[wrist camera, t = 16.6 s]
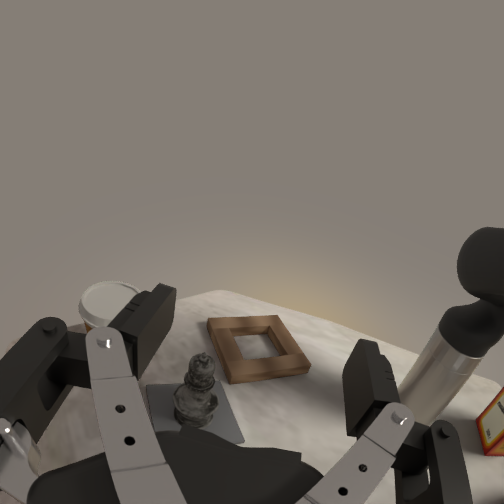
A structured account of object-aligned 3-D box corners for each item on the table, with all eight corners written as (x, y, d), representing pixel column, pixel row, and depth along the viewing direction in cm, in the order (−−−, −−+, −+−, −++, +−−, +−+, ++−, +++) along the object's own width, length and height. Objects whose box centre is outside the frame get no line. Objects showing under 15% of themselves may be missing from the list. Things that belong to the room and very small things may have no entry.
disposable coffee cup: (158, 371, 43) (163, 308, 38) (105, 395, 36) (97, 331, 31) (125, 334, 48) (126, 273, 43) (76, 352, 40) (67, 288, 36)
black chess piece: (164, 403, 37) (168, 339, 32) (202, 393, 40) (215, 330, 36) (183, 437, 33) (191, 378, 28) (223, 424, 36) (242, 364, 31)
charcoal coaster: (219, 382, 44) (219, 380, 43) (243, 442, 35) (244, 440, 34) (146, 387, 39) (146, 385, 39) (159, 453, 30) (159, 451, 30)
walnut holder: (274, 322, 61) (277, 315, 60) (307, 372, 50) (311, 364, 49) (206, 326, 55) (208, 317, 55) (229, 384, 44) (232, 375, 43)
